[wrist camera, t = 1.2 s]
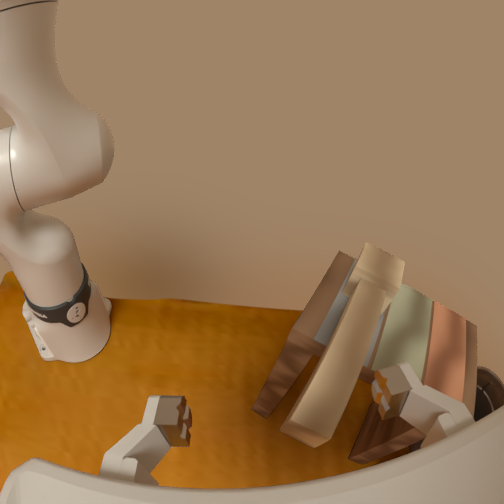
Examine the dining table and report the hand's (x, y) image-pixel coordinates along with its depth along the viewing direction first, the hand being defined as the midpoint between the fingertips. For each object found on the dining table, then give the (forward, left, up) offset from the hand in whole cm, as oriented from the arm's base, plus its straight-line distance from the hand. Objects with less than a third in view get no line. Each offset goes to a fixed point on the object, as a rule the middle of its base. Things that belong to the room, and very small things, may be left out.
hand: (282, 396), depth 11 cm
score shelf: (+9, +18, -35) cm, 41 cm away
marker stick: (+3, +12, -9) cm, 16 cm away
